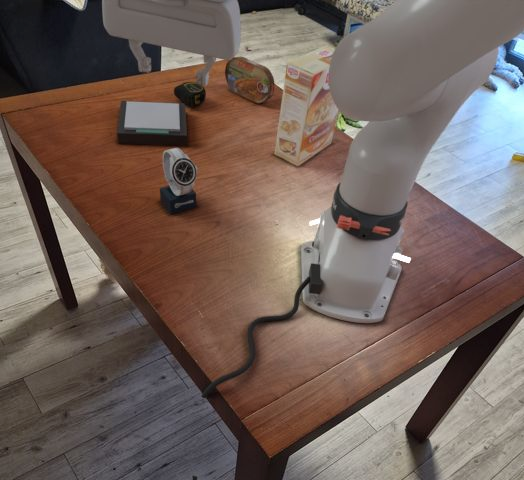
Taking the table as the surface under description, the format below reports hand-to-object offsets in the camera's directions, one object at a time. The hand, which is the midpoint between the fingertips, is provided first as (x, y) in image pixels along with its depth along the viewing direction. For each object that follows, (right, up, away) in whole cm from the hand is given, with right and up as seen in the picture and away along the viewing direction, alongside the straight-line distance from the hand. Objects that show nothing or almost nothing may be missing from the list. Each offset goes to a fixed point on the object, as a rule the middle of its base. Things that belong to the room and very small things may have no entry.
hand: (173, 77), depth 74 cm
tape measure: (-4, +19, +44) cm, 48 cm away
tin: (+10, +24, +50) cm, 56 cm away
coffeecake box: (+24, +4, +36) cm, 44 cm away
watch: (-3, -15, +18) cm, 24 cm away
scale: (-11, +9, +35) cm, 38 cm away
